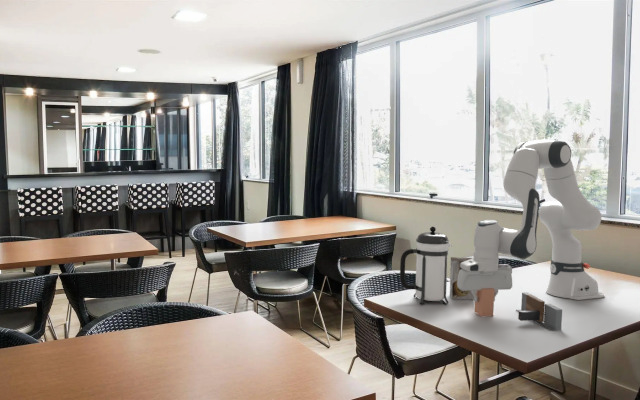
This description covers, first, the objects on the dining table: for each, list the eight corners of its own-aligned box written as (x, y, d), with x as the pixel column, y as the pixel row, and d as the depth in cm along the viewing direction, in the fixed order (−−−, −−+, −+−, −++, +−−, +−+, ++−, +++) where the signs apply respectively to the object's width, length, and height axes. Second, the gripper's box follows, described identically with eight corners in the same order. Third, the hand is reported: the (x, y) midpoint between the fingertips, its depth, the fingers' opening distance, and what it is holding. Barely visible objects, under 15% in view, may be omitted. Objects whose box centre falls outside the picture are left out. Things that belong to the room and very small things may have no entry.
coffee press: (423, 293, 220) (425, 222, 218) (456, 301, 209) (459, 226, 206) (398, 301, 208) (400, 226, 205) (432, 310, 197) (435, 231, 194)
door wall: (526, 310, 198) (527, 292, 197) (561, 330, 176) (562, 309, 175) (516, 310, 197) (516, 292, 196) (549, 330, 175) (550, 310, 175)
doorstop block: (485, 311, 196) (486, 285, 195) (493, 316, 190) (494, 289, 190) (474, 311, 196) (475, 285, 195) (481, 316, 190) (482, 289, 189)
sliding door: (529, 313, 191) (530, 294, 190) (543, 321, 182) (544, 301, 181) (507, 314, 190) (508, 295, 189) (520, 322, 181) (521, 302, 180)
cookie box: (471, 295, 218) (472, 257, 216) (474, 300, 211) (476, 260, 210) (449, 294, 219) (450, 256, 217) (451, 299, 212) (452, 259, 211)
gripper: (507, 262, 196) (506, 298, 197) (456, 263, 193) (454, 299, 194) (516, 265, 190) (514, 303, 191) (463, 266, 187) (461, 304, 188)
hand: (484, 301), depth 193 cm, fingers closed on doorstop block, 4 cm apart
